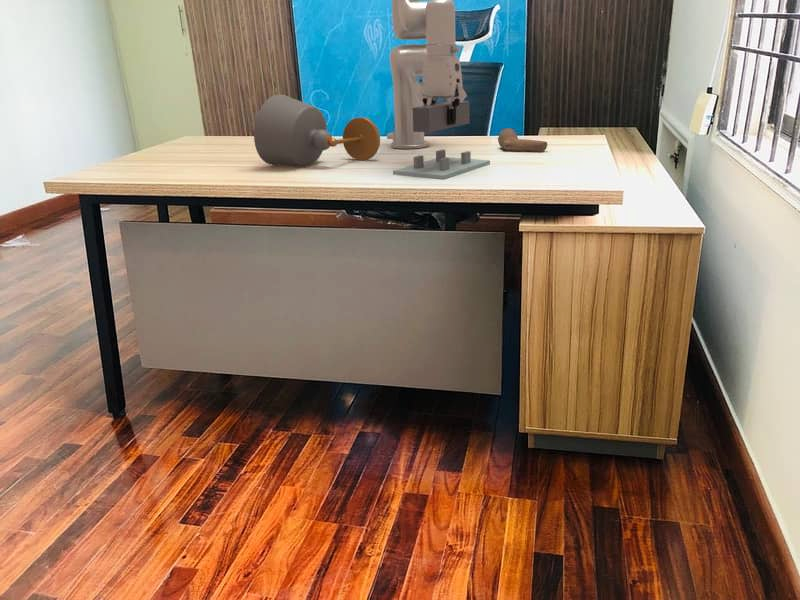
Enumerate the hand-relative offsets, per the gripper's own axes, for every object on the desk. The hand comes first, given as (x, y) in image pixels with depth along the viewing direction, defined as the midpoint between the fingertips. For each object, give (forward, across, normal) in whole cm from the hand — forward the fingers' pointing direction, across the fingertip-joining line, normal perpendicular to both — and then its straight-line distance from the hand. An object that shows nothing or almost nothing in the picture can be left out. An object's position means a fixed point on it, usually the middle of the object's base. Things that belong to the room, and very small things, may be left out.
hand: (442, 123), depth 186 cm
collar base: (+12, 0, 0) cm, 12 cm away
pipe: (+12, -4, -38) cm, 41 cm away
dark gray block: (+1, 0, 0) cm, 1 cm away
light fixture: (+12, +37, +9) cm, 40 cm away
